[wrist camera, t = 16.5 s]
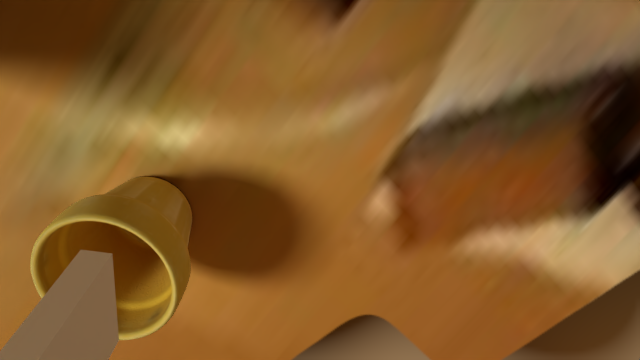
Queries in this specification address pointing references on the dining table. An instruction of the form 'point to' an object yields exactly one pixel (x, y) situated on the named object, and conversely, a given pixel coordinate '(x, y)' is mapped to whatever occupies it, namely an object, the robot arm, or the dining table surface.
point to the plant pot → (126, 249)
